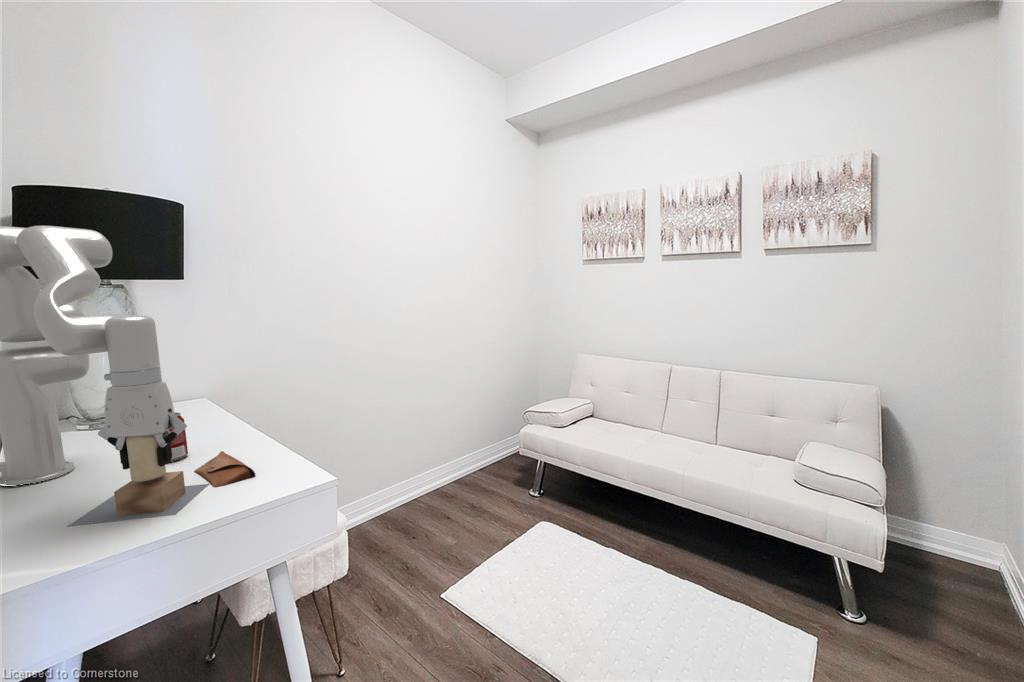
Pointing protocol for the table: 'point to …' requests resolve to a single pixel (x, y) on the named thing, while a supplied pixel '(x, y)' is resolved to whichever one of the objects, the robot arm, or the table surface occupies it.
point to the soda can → (179, 443)
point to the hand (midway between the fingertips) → (147, 464)
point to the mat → (109, 514)
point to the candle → (143, 458)
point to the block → (150, 494)
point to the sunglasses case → (224, 470)
